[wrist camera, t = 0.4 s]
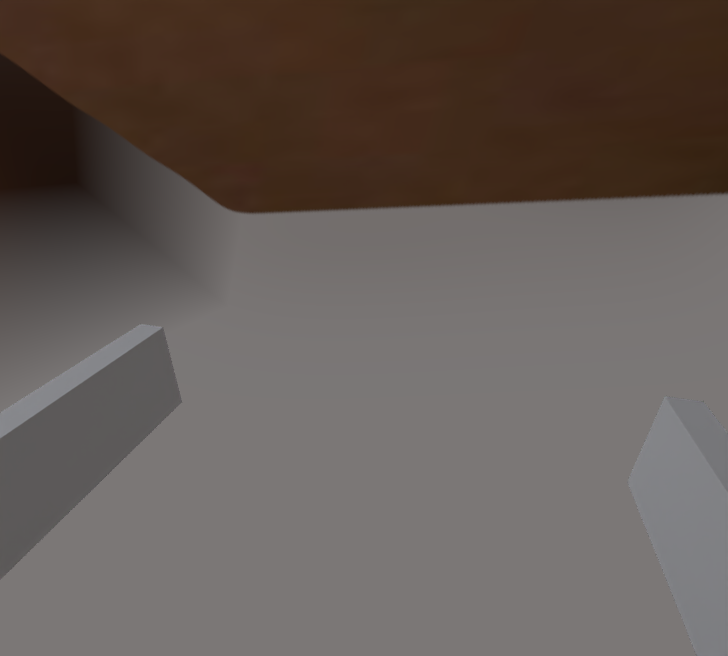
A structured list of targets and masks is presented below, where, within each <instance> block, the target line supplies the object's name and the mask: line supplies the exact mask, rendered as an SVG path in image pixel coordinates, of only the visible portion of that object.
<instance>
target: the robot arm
mask: <svg viewBox="0 0 728 656" xmlns="http://www.w3.org/2000/svg"><path fill="white" fill-rule="evenodd" d="M181 402H182V400H181V396H180V392H179V388H178V384H177V381H176V377H175V373H174V369H173V365H172V361H171V357H170V353H169V349H168V345H167V341H166V337H165V333H164V329H163V327H158V326H151V325H143V324H140V325H139V326H137V327H135V328H134V329H132V330H131V331H129V332H127V333H126V334H124V335H123V336H121V337H120V338H118V339H116V340H115V341H113V342H112V343H110V344H108V345H107V346H105V347H104V348H102V349H101V350H99V351H97V352H96V353H94V354H93V355H91V356H89V357H88V358H86V359H85V360H83V361H81V362H80V363H78V364H77V365H75V366H73V367H72V368H70V369H69V370H67V371H66V372H64V373H63V374H61V375H59V376H58V377H56V378H54V379H53V380H51V381H50V382H48V383H46V384H45V385H43V386H42V387H40V388H38V389H37V390H36V391H34V392H32V393H31V394H29V395H27V396H26V397H24V398H23V399H21V400H19V401H18V402H16V403H15V404H13V405H12V406H10V407H8V408H7V409H5V410H4V411H2V412H0V579H1V578H2V577H3V576H5V575H6V573H8V572H9V571H10V570H11V569H12V568H13V567H14V566H15V565H16V564H17V563H18V562H19V561H20V560H21V559H22V558H23V557H24V556H25V555H26V554H27V553H28V552H29V551H30V550H31V549H32V548H33V547H34V546H35V545H36V544H37V543H38V542H39V541H40V540H41V539H42V538H43V537H44V536H45V535H46V534H47V533H48V532H50V530H51V529H53V528H54V527H55V526H56V525H57V524H58V523H59V522H60V521H61V520H62V519H63V518H64V517H65V516H66V515H67V514H68V513H69V512H70V511H71V510H72V509H73V508H74V507H75V506H76V505H77V504H78V503H79V502H80V501H81V500H82V499H83V498H84V497H85V496H86V495H87V494H88V493H89V492H90V491H91V490H92V489H93V488H94V487H96V486H97V485H98V484H99V482H101V481H102V480H103V479H104V478H105V477H106V476H107V475H108V474H109V473H110V472H111V471H112V470H113V469H114V468H115V467H116V466H117V465H118V464H119V463H120V462H121V461H122V460H123V459H124V458H125V457H126V456H127V455H128V454H129V453H130V452H131V451H132V450H133V449H134V448H135V447H136V446H137V445H138V444H140V442H142V441H143V440H144V439H145V438H146V437H147V436H148V435H149V434H150V433H151V432H152V431H153V430H154V429H155V428H156V427H157V426H158V425H159V424H160V423H161V422H162V421H163V420H164V419H165V418H166V417H167V416H168V415H169V414H170V413H171V412H172V411H173V410H174V409H175V408H176V407H177V406H178V405H179V404H180V403H181ZM628 485H629V488H630V490H631V493H632V495H633V498H634V500H635V502H636V505H637V507H638V510H639V513H640V515H641V518H642V520H643V523H644V525H645V528H646V530H647V532H648V535H649V537H650V540H651V543H652V545H653V548H654V550H655V552H656V555H657V558H658V560H659V563H660V565H661V568H662V570H663V573H664V575H665V578H666V580H667V583H668V585H669V588H670V590H671V593H672V595H673V598H674V600H675V603H676V605H677V608H678V610H679V613H680V615H681V618H682V620H683V623H684V626H685V628H686V630H687V633H688V636H689V638H690V641H691V643H692V646H693V648H694V650H695V653H696V656H728V433H727V431H726V430H725V429H724V427H723V426H722V425H721V424H720V422H719V421H718V420H717V418H716V417H715V416H714V414H713V413H712V412H711V411H710V409H709V408H708V407H707V405H706V404H705V403H704V402H703V401H696V400H689V399H682V398H673V397H667V396H665V397H664V399H663V402H662V404H661V406H660V409H659V411H658V413H657V415H656V418H655V420H654V422H653V424H652V427H651V429H650V431H649V434H648V436H647V438H646V440H645V443H644V445H643V447H642V450H641V452H640V454H639V456H638V459H637V461H636V463H635V466H634V468H633V470H632V472H631V475H630V477H629V479H628Z"/></svg>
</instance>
